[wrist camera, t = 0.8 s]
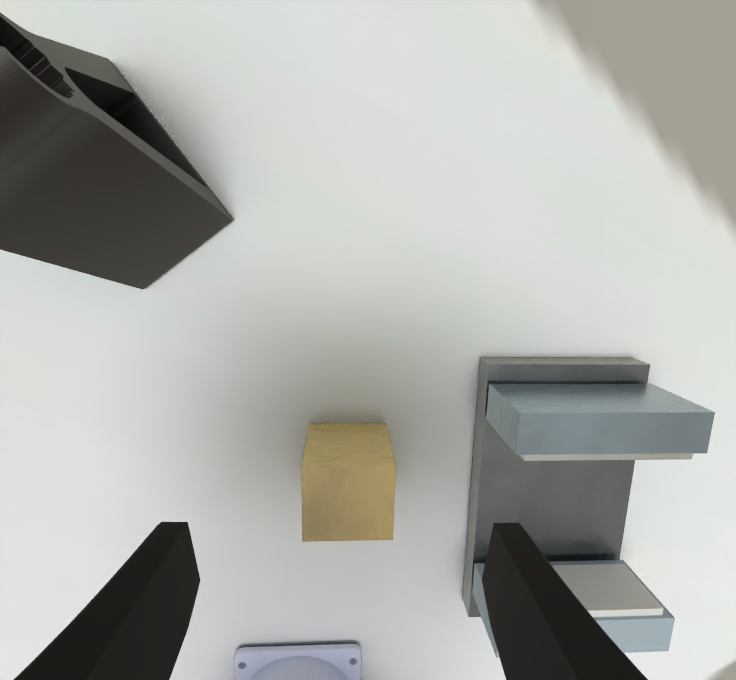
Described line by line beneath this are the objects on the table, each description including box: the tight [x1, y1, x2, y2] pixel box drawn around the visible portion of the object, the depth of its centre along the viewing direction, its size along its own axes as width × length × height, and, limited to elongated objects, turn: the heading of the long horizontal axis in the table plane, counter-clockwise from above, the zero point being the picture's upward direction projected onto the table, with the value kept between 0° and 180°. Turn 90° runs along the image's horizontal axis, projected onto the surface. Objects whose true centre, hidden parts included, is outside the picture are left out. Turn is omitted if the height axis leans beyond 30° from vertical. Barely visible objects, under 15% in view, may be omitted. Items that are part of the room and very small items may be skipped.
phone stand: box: [0, 13, 233, 289], centre depth 16 cm, size 9×6×12 cm, turn 36°
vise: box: [462, 357, 715, 617], centre depth 24 cm, size 16×9×6 cm, turn 179°
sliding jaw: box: [472, 560, 675, 657], centre depth 24 cm, size 2×9×4 cm, turn 89°
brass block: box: [301, 423, 395, 542], centre depth 23 cm, size 4×4×5 cm
